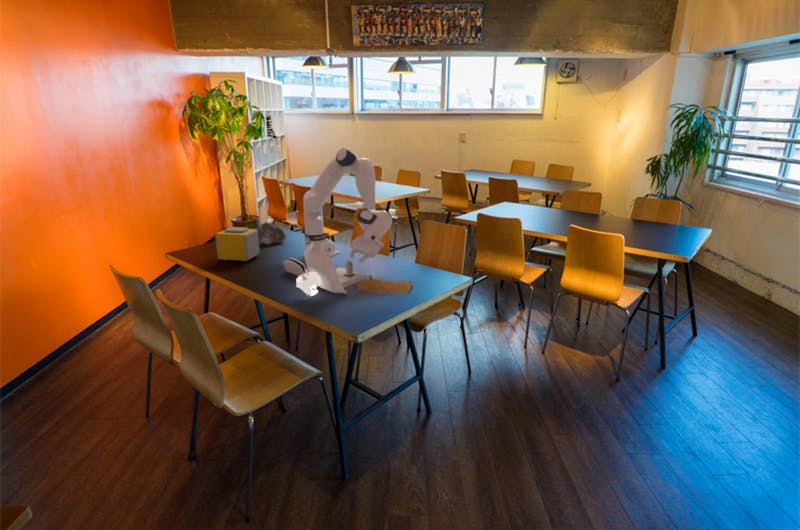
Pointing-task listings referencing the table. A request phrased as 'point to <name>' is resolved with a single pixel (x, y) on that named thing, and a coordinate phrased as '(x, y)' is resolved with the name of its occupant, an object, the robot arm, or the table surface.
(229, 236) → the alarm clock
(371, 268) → the table surface
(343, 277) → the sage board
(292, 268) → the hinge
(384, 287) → the leather hide
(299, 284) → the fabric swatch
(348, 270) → the beech dowel
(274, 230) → the rock
